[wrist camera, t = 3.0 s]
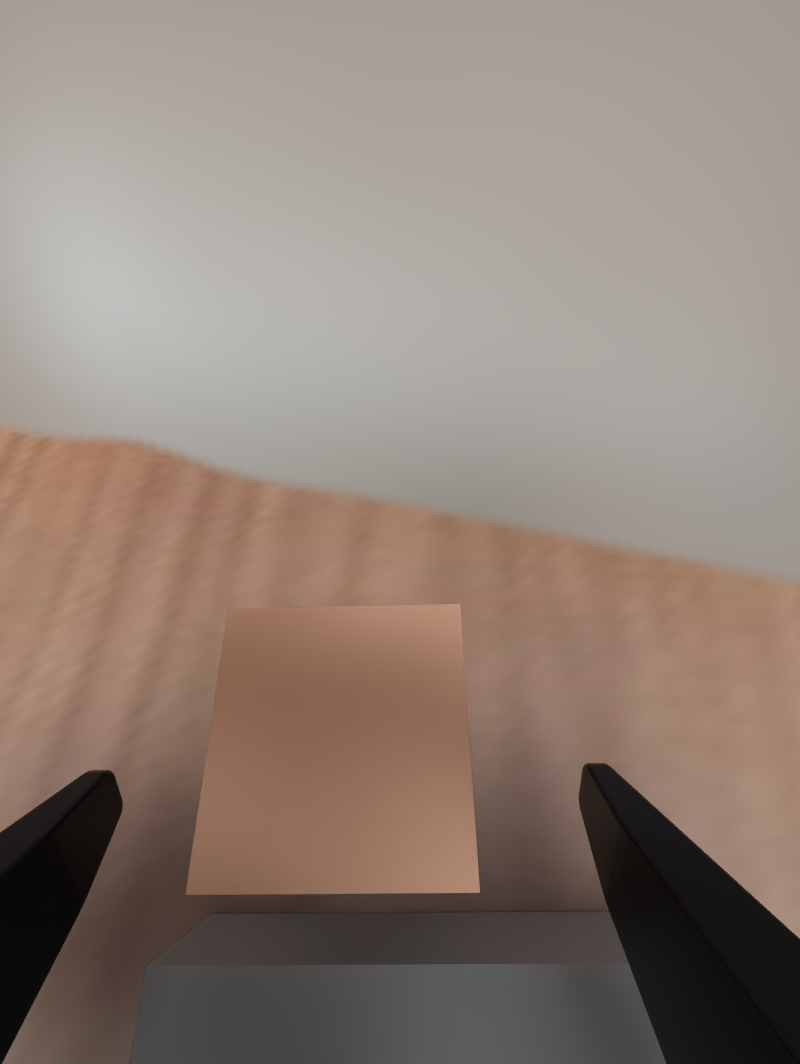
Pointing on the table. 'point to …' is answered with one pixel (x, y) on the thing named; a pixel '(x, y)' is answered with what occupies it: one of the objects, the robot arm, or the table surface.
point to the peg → (338, 755)
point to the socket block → (395, 991)
